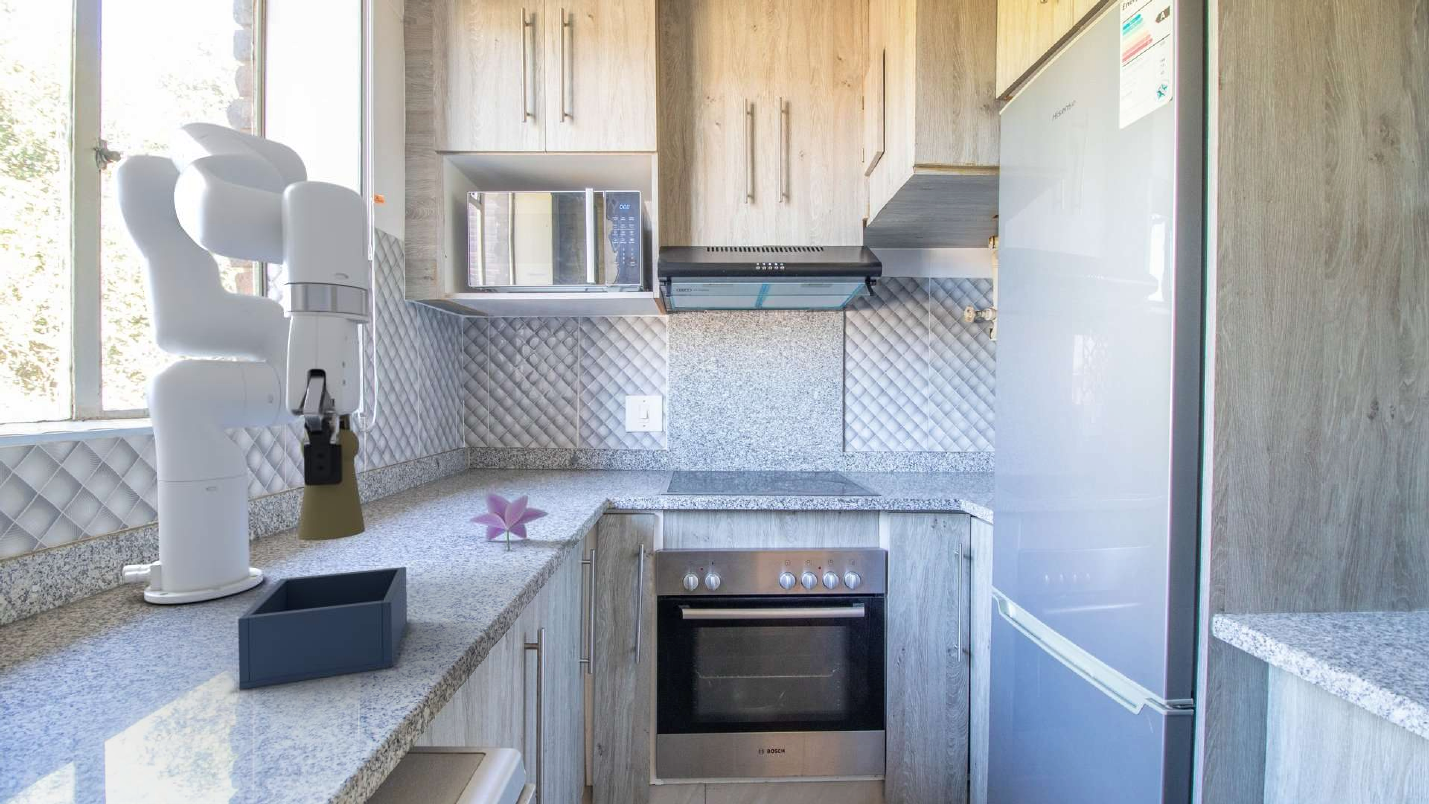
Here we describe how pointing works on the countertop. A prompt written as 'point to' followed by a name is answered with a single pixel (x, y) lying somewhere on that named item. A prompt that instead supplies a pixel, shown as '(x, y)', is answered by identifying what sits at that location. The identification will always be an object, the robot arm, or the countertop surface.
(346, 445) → the cork
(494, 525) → the lily
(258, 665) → the bin
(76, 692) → the countertop surface
